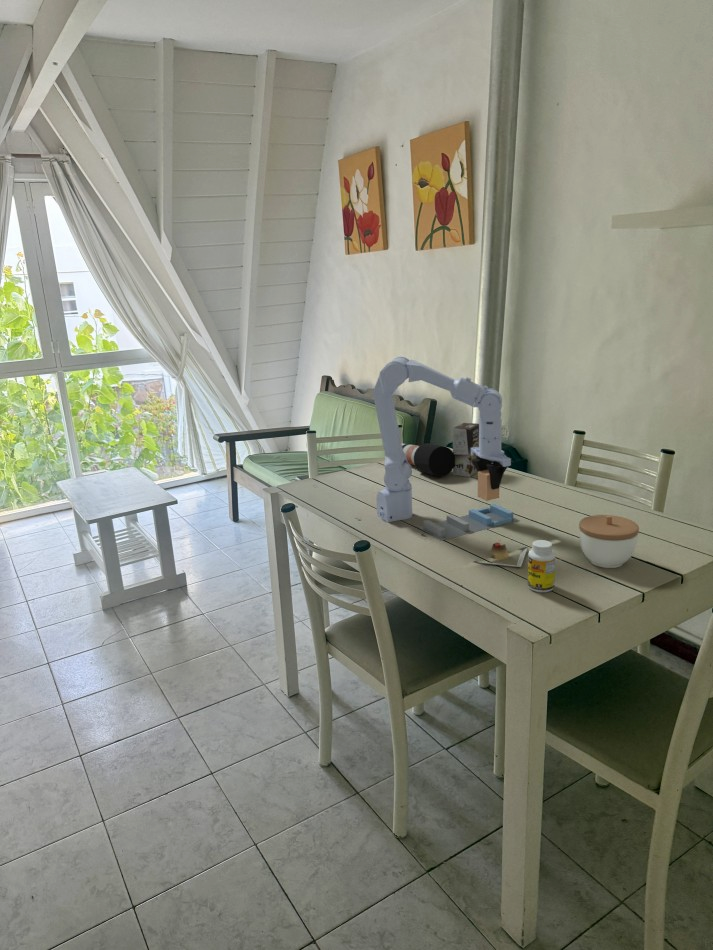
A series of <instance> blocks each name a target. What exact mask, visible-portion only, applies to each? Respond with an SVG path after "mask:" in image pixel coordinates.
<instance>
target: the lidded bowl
mask: <svg viewBox="0 0 713 950" xmlns="http://www.w3.org/2000/svg"><path fill="white" fill-rule="evenodd" d="M578 529H579V531H578V532H579V533H578V534H579V544H580V548H581V551H582V552H583V554H584V555H585V556H586V559H588V560H589V562H590V563H591V564H592V565H594V566H597V567H598V568H604V569H616V568H620V567H622V566H623V564H625V563H626V562H628V560H630V559H631V558H632V556H633V554H634V553H635V550H636V547H637V543H638V537H639V536H638V535H639V533H640V532H639V530H640V527H639V525H638V524H637V523H636V522H635V521H633V520H632V519H629V518H626V517H623V516H618V515H610V514H598V515H597V514H596V515H595V514H594V515H591V516H590V515H589V516H586V517H584V518H582V519H581V520H580V521H579V523H578Z"/></svg>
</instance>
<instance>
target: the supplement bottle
mask: <svg viewBox="0 0 713 950" xmlns="http://www.w3.org/2000/svg"><path fill="white" fill-rule="evenodd" d="M527 556H528V557H527V559H528V560H527V587H528V589H529V590H531V591H534V592H536V593H549V592H551V591H552V590H553V591H554V589H555V582H556V580H555V579H556V578H555V577H556V561H557V560H556V557H557V555H556V552H555V551H554V550H553V543H552V542H551V541H548V540H545V539H544V540H543V539H538V540H534V541H533V542H532V547H531V549H530V550H529V551H528V555H527Z"/></svg>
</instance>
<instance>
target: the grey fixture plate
mask: <svg viewBox="0 0 713 950" xmlns="http://www.w3.org/2000/svg"><path fill="white" fill-rule="evenodd" d="M518 521H520V519H518V518H517V517H516V518H515V517H514V511H511V510H509V509H507V508H505V507H502V506H501V505H498V504H497V503H494V504H490V505H489V507H488V506H486V507H482V508H479V509H474V508H472V509H469V510H468V514H466V515H462V516H455V515H453V514H446V520H441V521H438V522H434V521H432V520H430V519H426V520H423V525H421V526H417V528H419V529H420V530H422V531H423V532H426V534H429V535H430V536H433V537H434V538H436V539H437V540H439V541H445V540H446V541H447V540H450V539H454V538H458V537H461V536H464V535H468V534H469V535H470V534H472V533H475V532H481V531H483V530H487V529H491V528H496V527H499V526H504V525H507V524H511V523H515V522H518Z"/></svg>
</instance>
